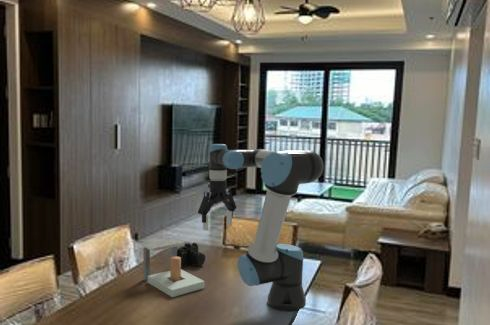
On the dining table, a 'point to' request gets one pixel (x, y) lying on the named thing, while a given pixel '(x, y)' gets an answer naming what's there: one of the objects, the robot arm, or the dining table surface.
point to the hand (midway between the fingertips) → (217, 227)
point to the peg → (175, 269)
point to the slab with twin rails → (158, 246)
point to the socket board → (176, 283)
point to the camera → (190, 255)
